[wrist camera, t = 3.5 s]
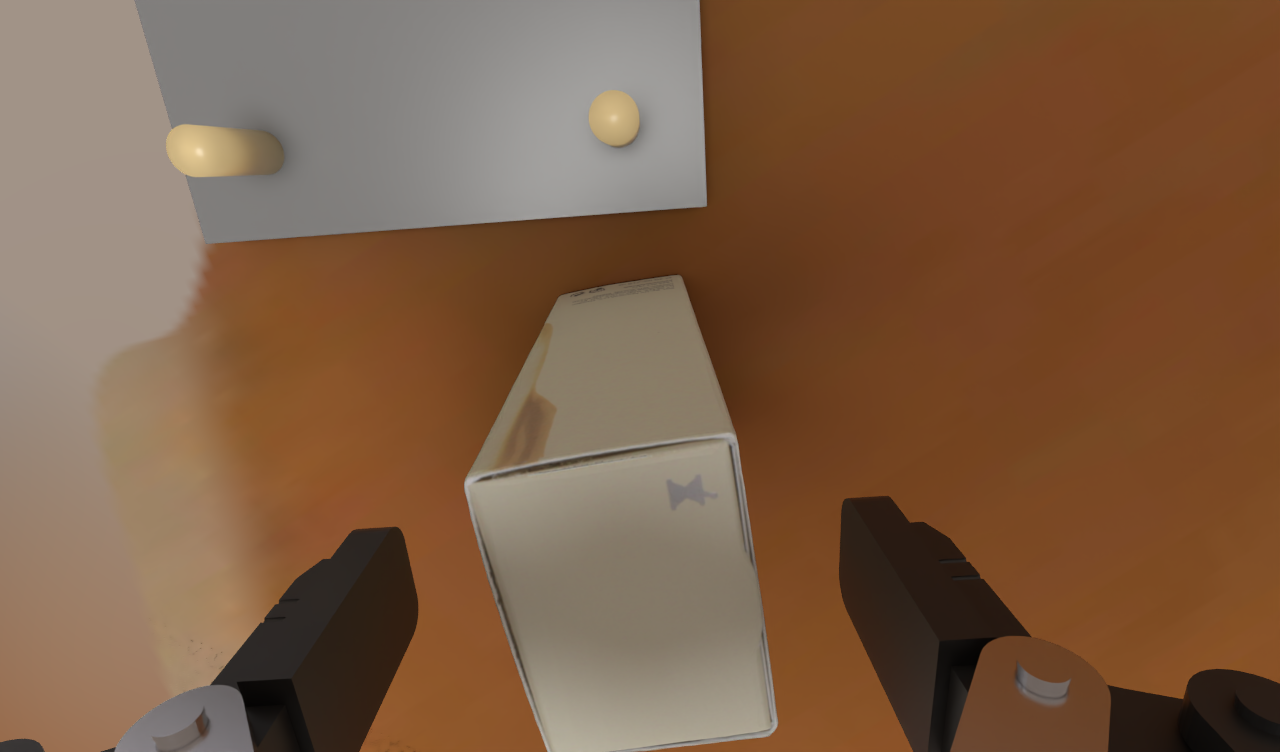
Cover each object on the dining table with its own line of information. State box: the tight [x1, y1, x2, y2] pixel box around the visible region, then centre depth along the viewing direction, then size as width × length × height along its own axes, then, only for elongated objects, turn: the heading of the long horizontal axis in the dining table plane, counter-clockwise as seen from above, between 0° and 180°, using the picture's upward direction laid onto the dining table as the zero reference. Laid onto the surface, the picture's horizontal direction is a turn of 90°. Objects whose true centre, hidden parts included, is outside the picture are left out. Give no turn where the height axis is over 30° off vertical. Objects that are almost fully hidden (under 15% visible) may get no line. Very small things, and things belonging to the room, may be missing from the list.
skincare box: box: [464, 275, 778, 752], centre depth 16 cm, size 6×4×12 cm
